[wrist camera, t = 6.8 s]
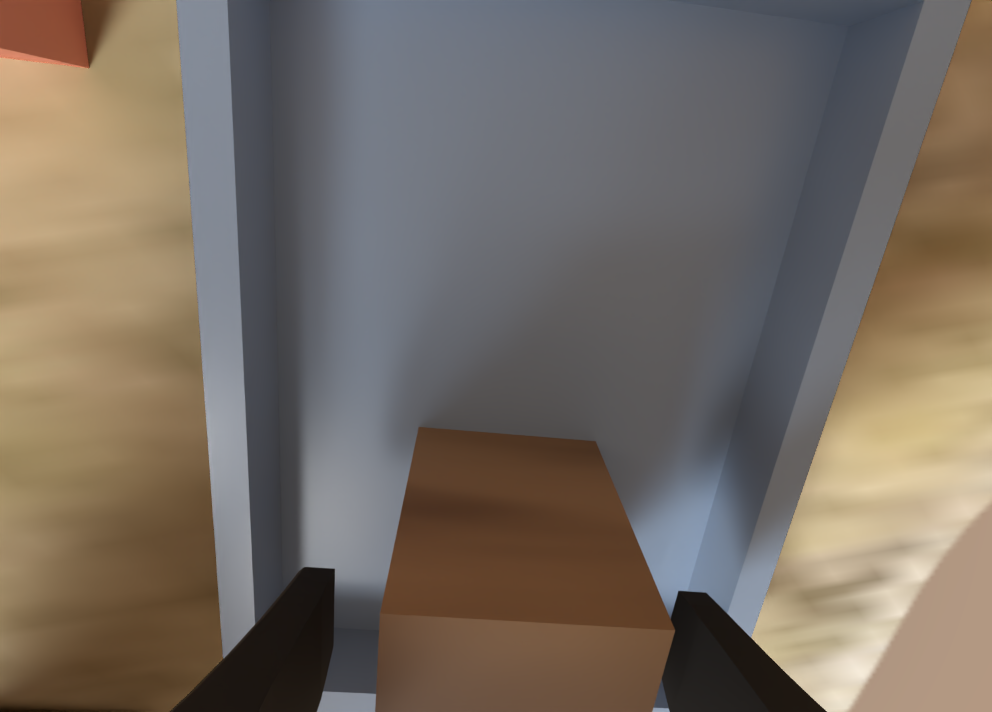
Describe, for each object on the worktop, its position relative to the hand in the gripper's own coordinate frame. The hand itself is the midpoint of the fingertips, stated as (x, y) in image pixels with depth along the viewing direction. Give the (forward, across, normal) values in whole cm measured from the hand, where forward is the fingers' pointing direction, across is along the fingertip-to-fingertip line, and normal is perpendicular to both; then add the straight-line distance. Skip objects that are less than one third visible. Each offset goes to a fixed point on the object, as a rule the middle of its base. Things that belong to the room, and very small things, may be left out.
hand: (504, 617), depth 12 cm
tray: (+4, 0, -4) cm, 6 cm away
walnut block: (+3, 0, 0) cm, 4 cm away
